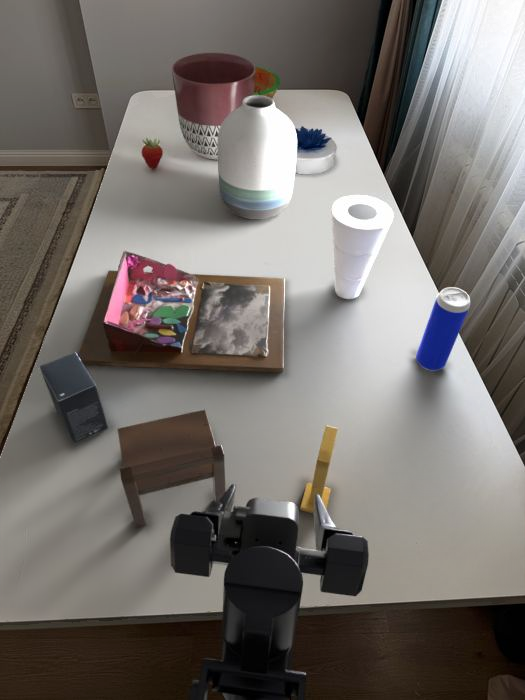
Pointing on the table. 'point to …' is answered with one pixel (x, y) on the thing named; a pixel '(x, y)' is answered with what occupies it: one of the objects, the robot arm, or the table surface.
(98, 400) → the box
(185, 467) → the brown legged wooden frame
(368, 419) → the table surface
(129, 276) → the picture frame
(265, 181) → the vase
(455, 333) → the beverage can
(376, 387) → the table surface
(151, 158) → the fruit
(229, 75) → the planter
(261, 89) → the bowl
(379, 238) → the stacked toilet paper rolls
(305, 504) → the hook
